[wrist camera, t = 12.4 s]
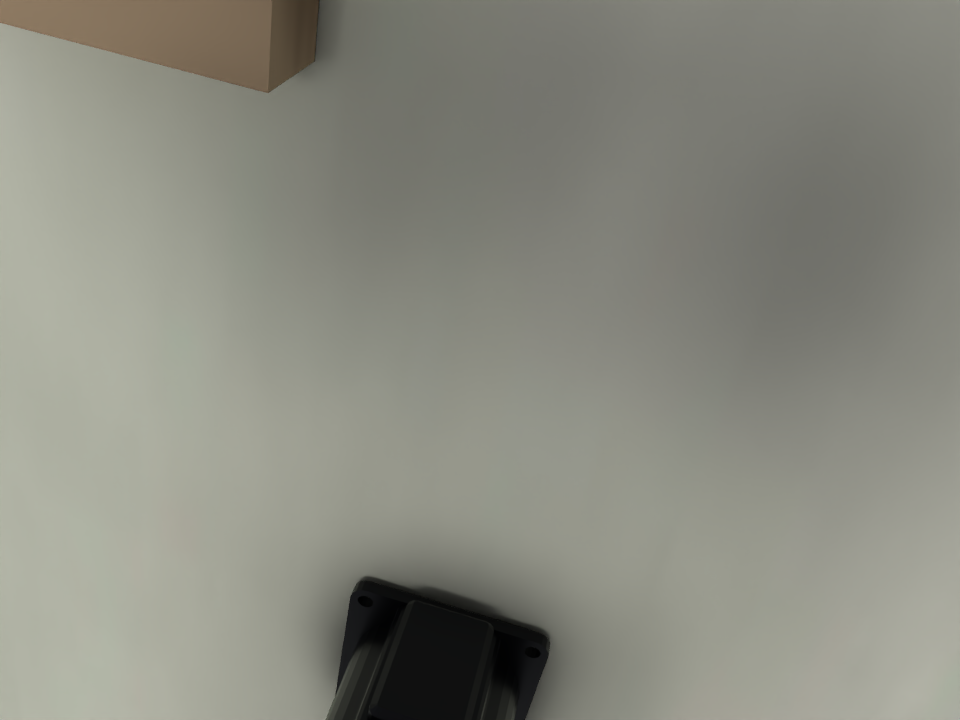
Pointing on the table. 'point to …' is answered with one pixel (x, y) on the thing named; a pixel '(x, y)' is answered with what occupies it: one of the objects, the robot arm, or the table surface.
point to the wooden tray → (186, 33)
